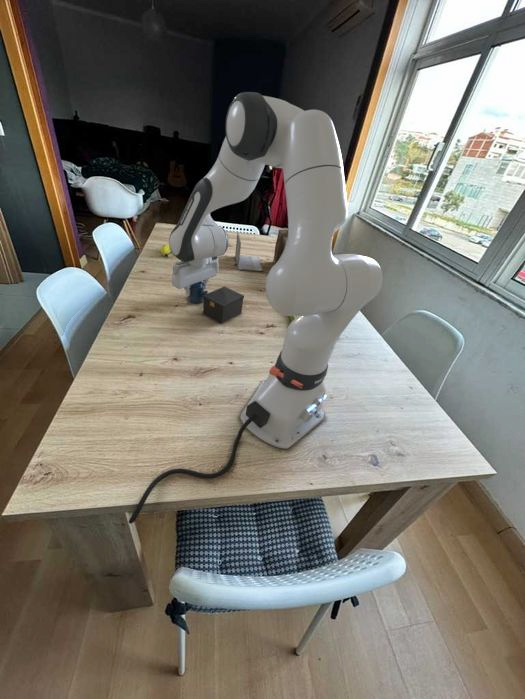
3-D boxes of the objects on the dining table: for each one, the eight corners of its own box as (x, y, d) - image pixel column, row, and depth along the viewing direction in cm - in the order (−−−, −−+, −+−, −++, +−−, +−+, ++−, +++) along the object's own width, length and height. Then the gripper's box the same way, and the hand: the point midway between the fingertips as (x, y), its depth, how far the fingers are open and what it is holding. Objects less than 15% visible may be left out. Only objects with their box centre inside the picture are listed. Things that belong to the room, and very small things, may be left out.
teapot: (180, 297, 112) (180, 278, 108) (192, 292, 117) (192, 274, 112) (201, 308, 108) (201, 288, 104) (212, 302, 113) (213, 284, 108)
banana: (155, 246, 138) (184, 259, 137) (174, 235, 151) (200, 246, 150) (155, 255, 141) (183, 267, 141) (173, 243, 154) (199, 254, 153)
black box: (221, 324, 101) (222, 306, 97) (201, 314, 105) (201, 295, 101) (242, 313, 110) (244, 295, 105) (223, 303, 113) (224, 286, 109)
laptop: (262, 272, 144) (266, 245, 136) (237, 269, 141) (240, 242, 134) (258, 258, 158) (261, 233, 150) (234, 256, 155) (237, 231, 148)
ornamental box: (316, 298, 135) (332, 261, 124) (280, 290, 130) (294, 251, 119) (299, 266, 162) (312, 233, 151) (269, 259, 157) (280, 225, 146)
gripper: (180, 266, 94) (181, 303, 102) (222, 253, 108) (220, 287, 117) (166, 259, 96) (168, 297, 105) (209, 248, 111) (208, 282, 119)
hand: (196, 292), depth 111 cm, fingers closed on teapot, 6 cm apart
